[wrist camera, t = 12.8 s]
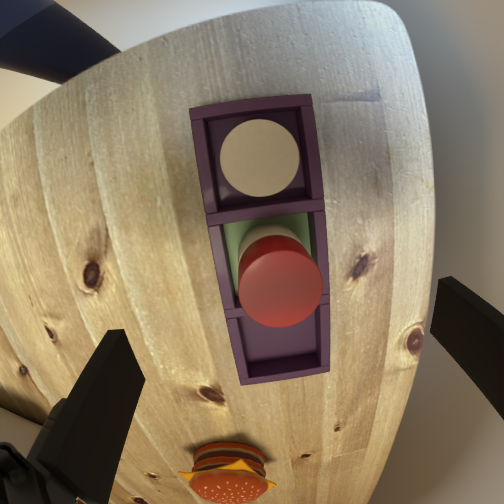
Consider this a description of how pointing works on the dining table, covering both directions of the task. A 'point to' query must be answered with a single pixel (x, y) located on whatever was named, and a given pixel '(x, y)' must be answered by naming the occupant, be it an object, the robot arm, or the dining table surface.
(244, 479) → the hamburger
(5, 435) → the jar
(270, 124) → the ivory token
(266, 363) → the token tray
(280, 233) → the ivory token
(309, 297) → the red token
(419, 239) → the dining table surface
